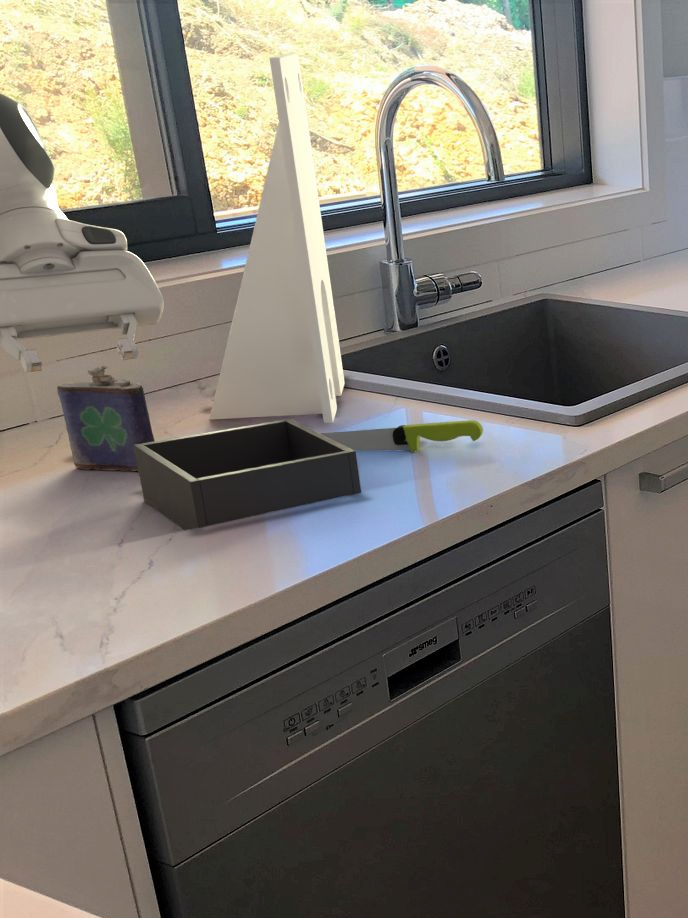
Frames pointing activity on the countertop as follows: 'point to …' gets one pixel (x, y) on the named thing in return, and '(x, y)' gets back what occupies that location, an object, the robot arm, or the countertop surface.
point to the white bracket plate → (284, 285)
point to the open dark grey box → (243, 472)
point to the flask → (105, 421)
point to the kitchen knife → (406, 435)
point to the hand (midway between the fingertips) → (83, 362)
